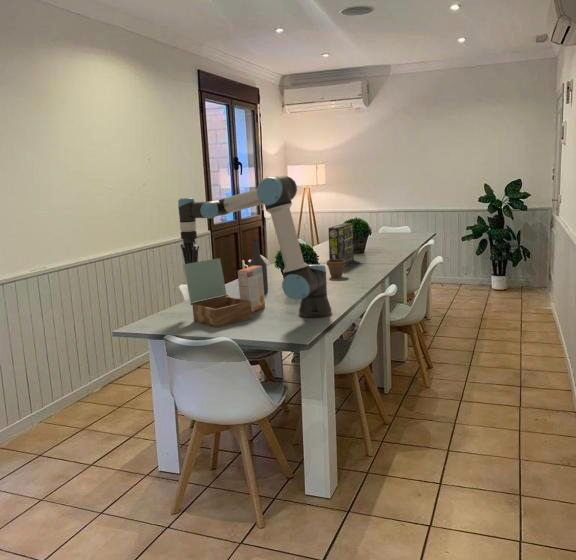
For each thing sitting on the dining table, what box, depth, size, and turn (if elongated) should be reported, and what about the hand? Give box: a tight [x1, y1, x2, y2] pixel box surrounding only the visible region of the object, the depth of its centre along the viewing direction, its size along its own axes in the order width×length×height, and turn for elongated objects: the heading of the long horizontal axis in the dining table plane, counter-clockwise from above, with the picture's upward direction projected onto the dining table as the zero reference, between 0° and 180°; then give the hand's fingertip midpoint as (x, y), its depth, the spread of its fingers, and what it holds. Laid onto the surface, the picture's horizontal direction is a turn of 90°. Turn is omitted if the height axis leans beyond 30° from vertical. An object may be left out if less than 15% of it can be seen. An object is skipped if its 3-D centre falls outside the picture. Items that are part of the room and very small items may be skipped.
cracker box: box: [237, 266, 266, 314], centre depth 282 cm, size 14×6×21 cm, turn 152°
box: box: [328, 222, 355, 266], centre depth 398 cm, size 34×7×27 cm, turn 157°
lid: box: [183, 257, 228, 303], centre depth 274 cm, size 18×20×1 cm
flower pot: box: [326, 259, 346, 279], centre depth 355 cm, size 12×11×10 cm
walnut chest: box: [190, 294, 253, 328], centre depth 268 cm, size 19×21×9 cm
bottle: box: [247, 238, 269, 294], centre depth 321 cm, size 10×10×30 cm
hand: (192, 279), depth 283 cm, fingers closed
